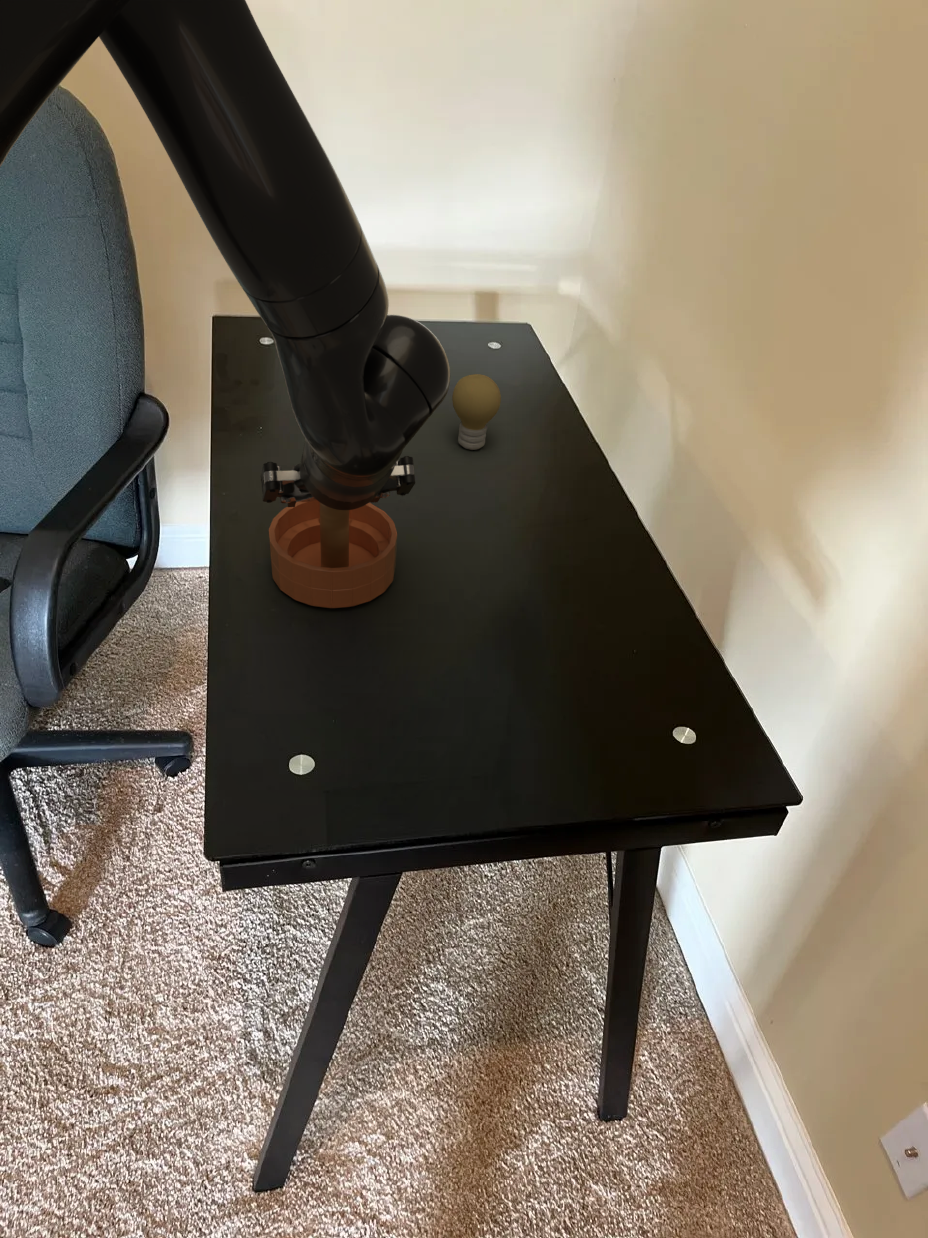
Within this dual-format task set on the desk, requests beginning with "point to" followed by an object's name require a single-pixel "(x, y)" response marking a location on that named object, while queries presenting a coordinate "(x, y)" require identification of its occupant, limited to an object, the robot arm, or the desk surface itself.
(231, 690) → the desk surface
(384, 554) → the bowl
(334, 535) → the stick
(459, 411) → the light bulb
